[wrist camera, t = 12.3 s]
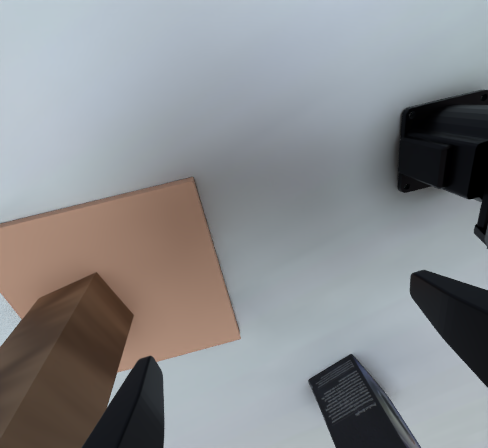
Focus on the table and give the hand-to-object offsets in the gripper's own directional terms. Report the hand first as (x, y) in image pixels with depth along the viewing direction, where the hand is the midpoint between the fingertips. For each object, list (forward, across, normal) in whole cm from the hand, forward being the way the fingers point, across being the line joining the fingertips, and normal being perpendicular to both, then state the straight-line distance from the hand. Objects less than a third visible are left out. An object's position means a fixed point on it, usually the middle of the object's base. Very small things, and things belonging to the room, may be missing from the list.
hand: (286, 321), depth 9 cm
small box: (+13, -8, +28) cm, 32 cm away
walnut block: (+12, +14, +6) cm, 19 cm away
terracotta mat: (+13, +11, +6) cm, 18 cm away
